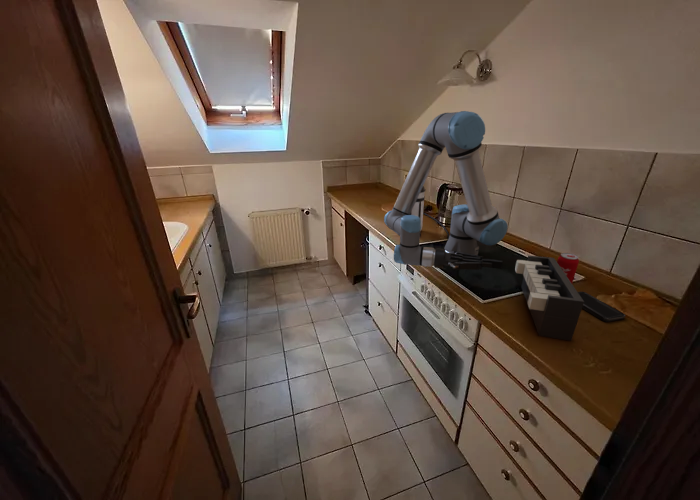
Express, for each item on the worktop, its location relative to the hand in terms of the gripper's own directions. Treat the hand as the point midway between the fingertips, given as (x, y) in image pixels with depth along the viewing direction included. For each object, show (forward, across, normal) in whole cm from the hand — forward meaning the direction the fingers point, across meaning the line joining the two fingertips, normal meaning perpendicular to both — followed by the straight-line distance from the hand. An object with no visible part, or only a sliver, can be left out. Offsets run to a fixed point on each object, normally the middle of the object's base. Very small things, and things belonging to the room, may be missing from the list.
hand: (501, 264), depth 108 cm
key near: (+8, +23, -2) cm, 25 cm away
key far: (+9, 0, -2) cm, 9 cm away
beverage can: (+23, -8, -10) cm, 26 cm away
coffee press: (-39, -52, -10) cm, 65 cm away
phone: (+28, +6, -10) cm, 30 cm away
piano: (+12, +12, -10) cm, 19 cm away
